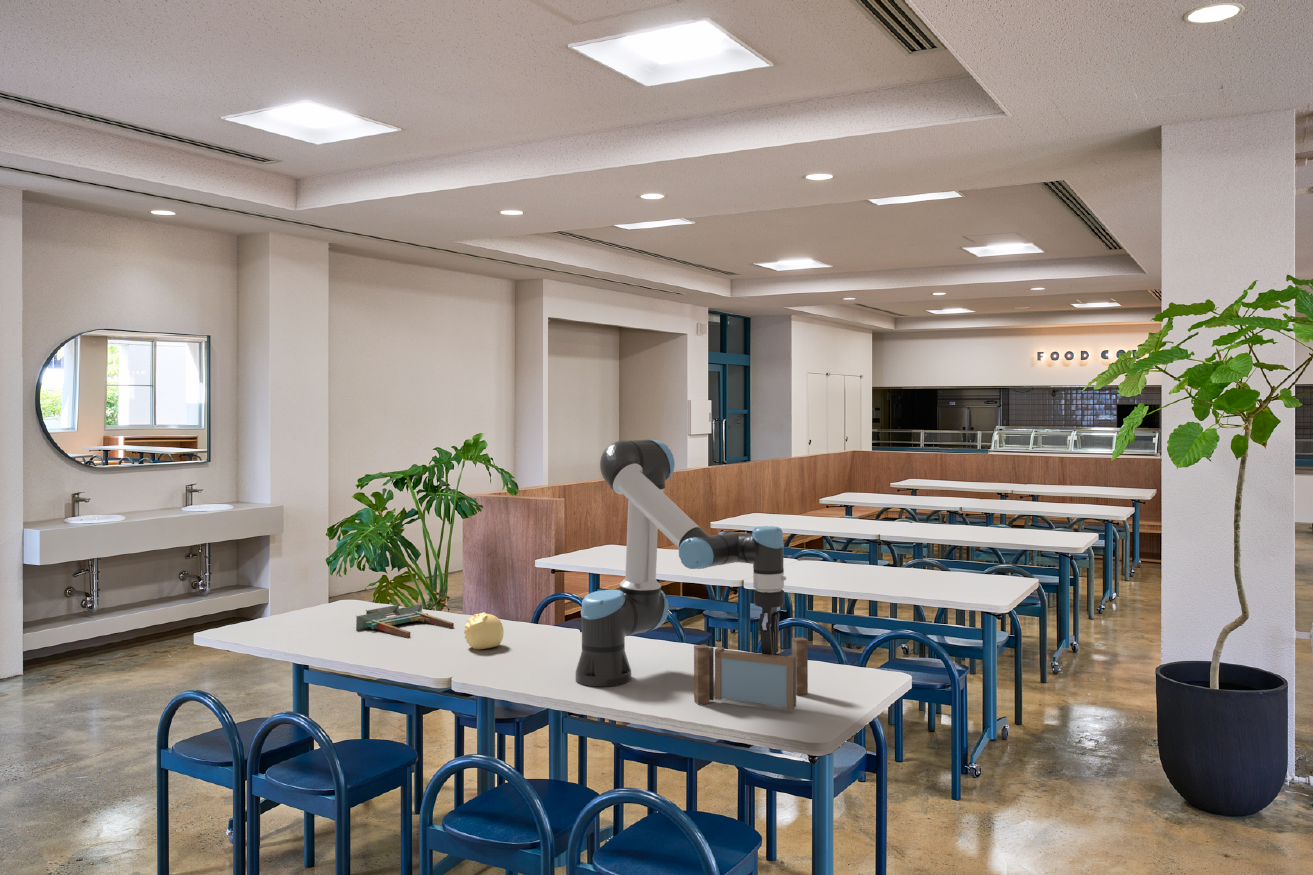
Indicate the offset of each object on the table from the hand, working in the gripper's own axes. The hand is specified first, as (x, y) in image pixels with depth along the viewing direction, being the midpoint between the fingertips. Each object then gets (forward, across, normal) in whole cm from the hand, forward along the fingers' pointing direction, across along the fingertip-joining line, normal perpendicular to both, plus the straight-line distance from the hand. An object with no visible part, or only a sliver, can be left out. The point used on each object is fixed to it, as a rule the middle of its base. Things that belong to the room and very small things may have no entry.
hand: (770, 684), depth 236 cm
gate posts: (+5, +2, +6) cm, 8 cm away
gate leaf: (+3, -5, +3) cm, 7 cm away
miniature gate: (+4, +47, +138) cm, 146 cm away
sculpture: (+4, +29, +97) cm, 101 cm away
